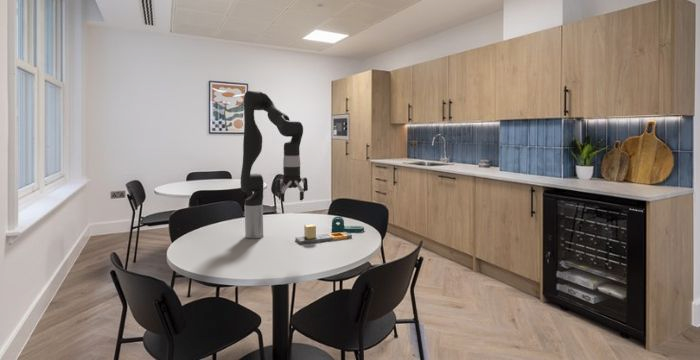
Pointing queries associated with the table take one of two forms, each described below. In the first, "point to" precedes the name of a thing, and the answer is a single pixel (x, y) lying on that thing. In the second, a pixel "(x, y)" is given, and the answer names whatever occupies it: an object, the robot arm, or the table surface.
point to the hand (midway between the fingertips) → (292, 200)
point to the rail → (324, 238)
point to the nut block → (310, 232)
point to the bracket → (343, 228)
